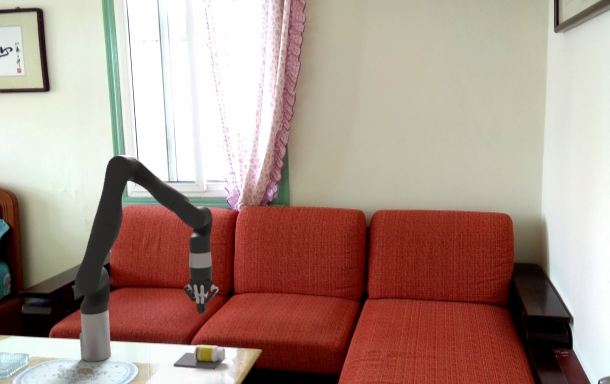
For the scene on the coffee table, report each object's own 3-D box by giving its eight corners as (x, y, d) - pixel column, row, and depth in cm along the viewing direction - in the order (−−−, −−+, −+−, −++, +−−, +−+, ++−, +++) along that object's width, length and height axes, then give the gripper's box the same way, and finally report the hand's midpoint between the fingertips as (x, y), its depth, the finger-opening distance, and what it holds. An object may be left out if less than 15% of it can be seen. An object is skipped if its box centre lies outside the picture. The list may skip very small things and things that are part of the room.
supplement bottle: (194, 363, 187) (221, 365, 186) (192, 350, 186) (220, 351, 184) (200, 354, 193) (226, 356, 191) (198, 341, 191) (224, 342, 189)
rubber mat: (173, 365, 186) (173, 364, 186) (186, 354, 196) (186, 352, 196) (214, 369, 183) (214, 367, 183) (225, 357, 193) (224, 355, 193)
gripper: (222, 262, 188) (223, 311, 190) (187, 261, 191) (188, 308, 193) (214, 268, 180) (215, 318, 182) (177, 266, 183) (179, 315, 185)
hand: (201, 313), depth 187 cm, fingers closed
